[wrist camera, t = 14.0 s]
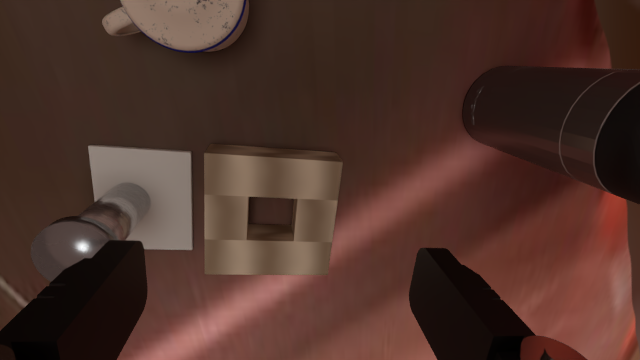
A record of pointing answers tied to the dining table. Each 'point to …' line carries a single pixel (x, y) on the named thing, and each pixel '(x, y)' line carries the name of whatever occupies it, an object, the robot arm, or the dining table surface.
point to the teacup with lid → (181, 22)
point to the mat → (151, 190)
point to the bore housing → (275, 182)
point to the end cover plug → (89, 229)
